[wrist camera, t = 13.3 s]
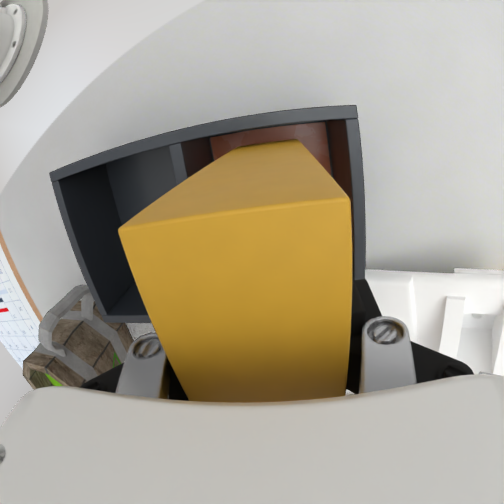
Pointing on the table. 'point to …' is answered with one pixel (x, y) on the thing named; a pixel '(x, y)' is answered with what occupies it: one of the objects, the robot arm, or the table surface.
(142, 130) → the table surface
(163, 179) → the caddy
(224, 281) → the yellow box
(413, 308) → the tape dispenser
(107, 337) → the mug
